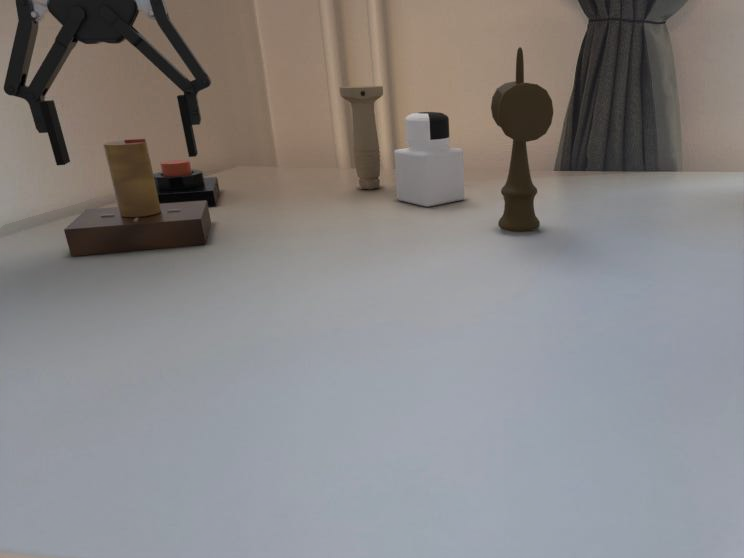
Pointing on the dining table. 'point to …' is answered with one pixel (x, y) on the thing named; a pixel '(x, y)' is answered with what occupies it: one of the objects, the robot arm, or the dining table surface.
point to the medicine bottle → (429, 162)
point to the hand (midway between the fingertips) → (130, 159)
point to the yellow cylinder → (132, 177)
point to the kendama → (520, 144)
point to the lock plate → (138, 229)
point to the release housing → (187, 188)
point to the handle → (365, 133)
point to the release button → (176, 167)
